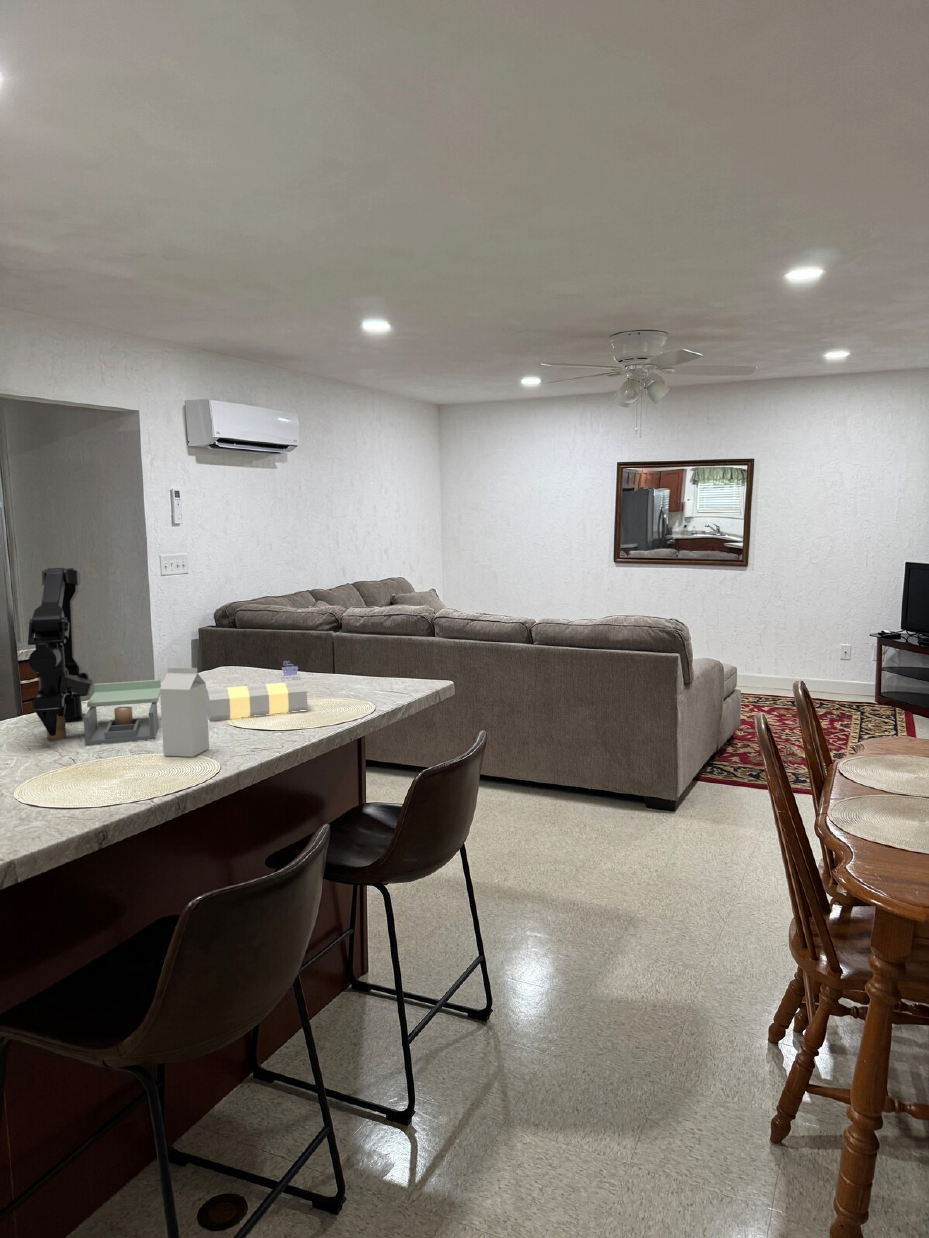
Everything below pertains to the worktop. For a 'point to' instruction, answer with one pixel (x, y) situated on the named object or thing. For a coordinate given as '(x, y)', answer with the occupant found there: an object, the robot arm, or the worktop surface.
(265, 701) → the yellow banded gray prism
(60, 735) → the brown sleeve
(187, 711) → the milk carton
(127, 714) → the housing
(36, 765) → the worktop surface
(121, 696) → the lid
